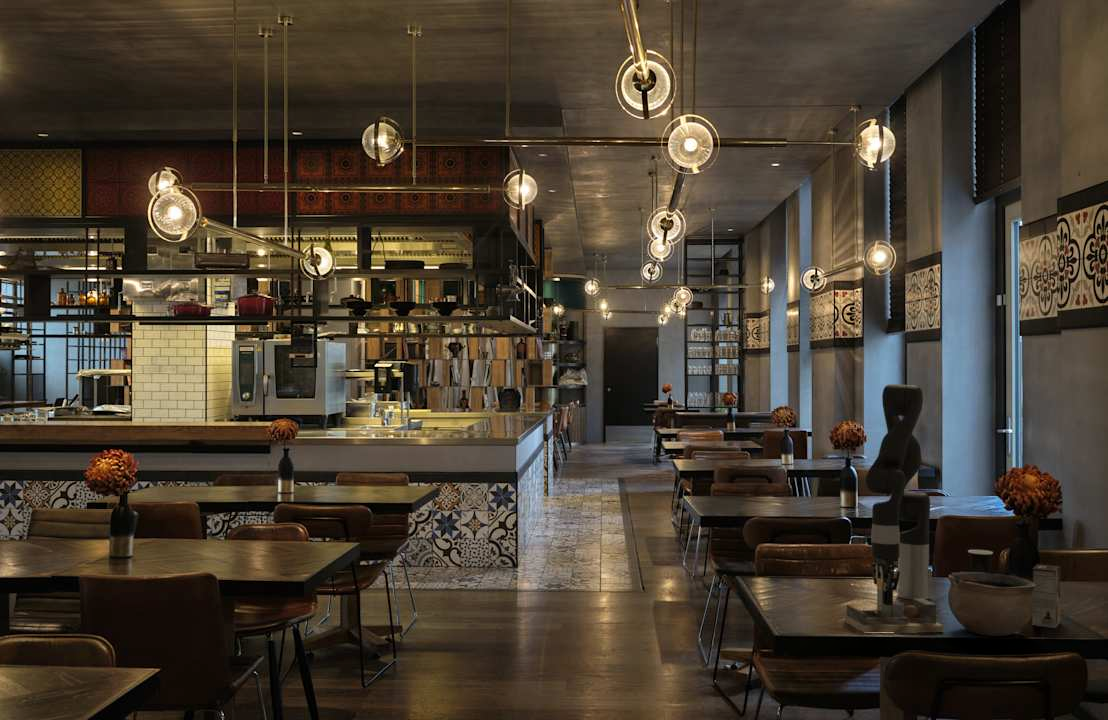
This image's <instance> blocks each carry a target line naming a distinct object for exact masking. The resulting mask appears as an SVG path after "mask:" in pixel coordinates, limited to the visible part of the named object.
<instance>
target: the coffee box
mask: <svg viewBox="0 0 1108 720" xmlns="http://www.w3.org/2000/svg"><path fill="white" fill-rule="evenodd" d="M1031 570H1032V571H1031V572H1032V573H1031V575H1032V579H1031V582H1032V583H1034V584H1035V585H1036V586H1035V589H1034V590H1033V592H1032V595H1033V598H1034V603H1035V605H1034V613H1033V615H1032V617H1031V619H1032V621H1031V622H1032V626H1034V625H1036V627H1042V626H1043V628H1051V629H1056V628H1058V626H1059V624H1060V623H1061V566H1060V565H1050V564H1039V563H1038V564H1036V565H1035V566H1034V567H1032V569H1031Z"/></svg>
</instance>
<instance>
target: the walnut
mask: <svg viewBox="0 0 1108 720" xmlns="http://www.w3.org/2000/svg"><path fill="white" fill-rule="evenodd" d="M903 615H904V616H905V617H907V618H917V616H918V610H917V608H916V607H915V606H913V604H908V605H906V606H904V607H903Z"/></svg>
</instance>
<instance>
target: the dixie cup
mask: <svg viewBox="0 0 1108 720" xmlns="http://www.w3.org/2000/svg"><path fill="white" fill-rule="evenodd" d="M967 552H968V555H969V556H968V557H969V559H968V560H969V566H970V572H983V573H988V574H991V567H992V561H993V560H992V558H993V554H994V552H993V551H991V550H986V549H969V550H967Z"/></svg>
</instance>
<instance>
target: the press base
mask: <svg viewBox="0 0 1108 720" xmlns="http://www.w3.org/2000/svg"><path fill="white" fill-rule="evenodd" d="M912 605H913V606H915V607H916V608H917V610H918V616H917V618H907V617H905V616H904V615H903V616H904V617H884V618H876V617H875V616H874V612H877V609H869V610H868V609H867V610H865V609H864V610H860V609H857V608H856V607H854V606H852V605H850V604H846V614H845V615H844V622H845V621H847V622H848V623H850V624H851V625H853V626H855V627H856V628H858V629H860V630H862V631H863V632H894V633H893V634H919V633H918V632H943V633H944V625H943V624H941V623H940V622H937V604H936V603H934V602H932V601H930V600H928V599H926V600H925V599H923V598H921V599H913V600H912ZM848 623H847V624H848ZM850 624H849V625H850ZM851 625H850V626H851ZM853 626H852V627H853ZM855 627H854V628H855ZM856 628H855V629H856ZM858 629H857V630H858ZM860 630H859V631H860ZM863 632H862V633H863Z"/></svg>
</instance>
